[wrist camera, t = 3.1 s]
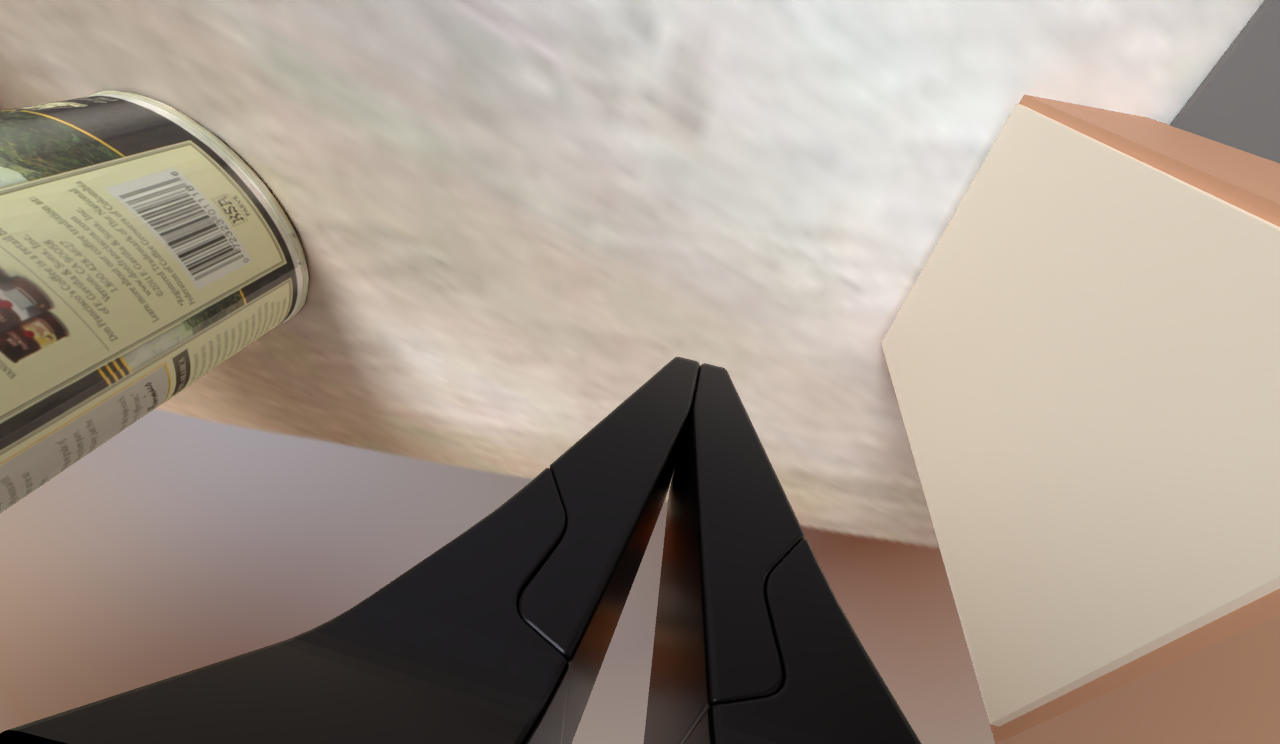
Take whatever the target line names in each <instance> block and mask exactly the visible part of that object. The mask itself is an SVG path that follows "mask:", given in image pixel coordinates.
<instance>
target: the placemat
mask: <svg viewBox="0 0 1280 744" xmlns="http://www.w3.org/2000/svg"><path fill="white" fill-rule="evenodd" d="M1170 126H1173V127H1176V128H1179V129H1182V130H1185V131H1187V132H1190V133H1193V134H1196V135H1199V136H1202V137H1205V138H1208V139H1211V140H1213V141H1216V142H1219V143H1222V144H1225V145H1228V146H1231V147H1234V148H1236V149H1239V150H1242V151H1245V152H1248V153H1251V154H1254V155H1257V156H1260V157H1262V158H1265V159H1268V160H1271V161H1274V162H1277V163H1280V0H1265V1H1264V2H1263V4H1262V5H1261V6H1260V8H1259V9H1258V10H1257V12H1256V13H1255V14H1254V16H1253V17H1252V18H1251V20H1250V21H1249V22H1248V23H1247V25H1246V26H1245V27H1244V29H1243V30H1242V31H1241V33H1240V34H1239V35H1238V37H1237V38H1236V39H1235V40H1234V42H1233V43H1232V44H1231V46H1230V47H1229V48H1228V50H1227V51H1226V52H1225V54H1224V55H1223V56H1222V58H1221V59H1220V60H1219V61H1218V63H1217V64H1216V65H1215V67H1214V68H1213V69H1212V71H1211V72H1210V73H1209V75H1208V76H1207V77H1206V78H1205V80H1204V81H1203V82H1202V84H1201V85H1200V86H1199V88H1198V89H1197V90H1196V92H1195V93H1194V94H1193V95H1192V97H1191V98H1190V99H1189V101H1188V102H1187V103H1186V105H1185V106H1184V107H1183V109H1182V110H1181V111H1180V113H1179V114H1178V115H1177V116H1176V118H1175V119H1174V120H1173V122H1172V123H1171V124H1170Z"/></svg>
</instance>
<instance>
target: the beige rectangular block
mask: <svg viewBox="0 0 1280 744" xmlns="http://www.w3.org/2000/svg"><path fill="white" fill-rule="evenodd" d="M881 345H882V348H883V352H884V355H885V359H886V362H887V366H888V369H889V373H890V376H891V380H892V383H893V387H894V390H895V394H896V397H897V401H898V404H899V408H900V411H901V415H902V418H903V422H904V425H905V429H906V432H907V436H908V439H909V443H910V446H911V450H912V453H913V457H914V460H915V464H916V467H917V471H918V474H919V478H920V481H921V485H922V488H923V492H924V496H925V499H926V503H927V506H928V510H929V513H930V517H931V520H932V524H933V527H934V531H935V534H936V538H937V541H938V545H939V548H940V551H941V555H942V559H943V562H944V566H945V569H946V573H947V576H948V580H949V583H950V587H951V590H952V594H953V597H954V601H955V604H956V607H957V611H958V615H959V618H960V622H961V625H962V629H963V632H964V636H965V639H966V643H967V646H968V650H969V653H970V657H971V660H972V664H973V668H974V671H975V675H976V678H977V681H978V685H979V689H980V692H981V695H982V699H983V703H984V706H985V710H986V713H987V717H988V720H989V724H990V726H991V730H992V733H993V737H994V740H995V744H1280V163H1277V162H1274V161H1271V160H1268V159H1265V158H1262V157H1260V156H1257V155H1254V154H1251V153H1248V152H1245V151H1242V150H1239V149H1236V148H1234V147H1231V146H1228V145H1225V144H1222V143H1219V142H1216V141H1213V140H1211V139H1208V138H1205V137H1202V136H1199V135H1196V134H1193V133H1190V132H1187V131H1185V130H1182V129H1179V128H1176V127H1173V126H1170V125H1167V124H1164V123H1162V122H1159V121H1156V120H1153V119H1150V118H1145V117H1140V116H1135V115H1129V114H1124V113H1119V112H1113V111H1108V110H1103V109H1097V108H1092V107H1087V106H1081V105H1076V104H1071V103H1065V102H1060V101H1055V100H1049V99H1044V98H1039V97H1033V96H1028V95H1024V96H1023V98H1022V99H1021V101H1020V103H1019V104H1016V105H1015V107H1014V108H1013V110H1012V112H1011V114H1010V115H1009V117H1008V119H1007V121H1006V123H1005V124H1004V126H1003V128H1002V130H1001V131H1000V133H999V135H998V137H997V138H996V140H995V142H994V144H993V146H992V147H991V149H990V151H989V153H988V154H987V156H986V158H985V160H984V162H983V163H982V165H981V167H980V169H979V170H978V172H977V174H976V176H975V178H974V179H973V181H972V183H971V185H970V186H969V188H968V190H967V192H966V194H965V195H964V197H963V199H962V201H961V202H960V204H959V206H958V208H957V209H956V211H955V213H954V215H953V217H952V218H951V220H950V222H949V224H948V225H947V227H946V229H945V231H944V233H943V234H942V236H941V238H940V240H939V241H938V243H937V245H936V247H935V249H934V250H933V252H932V254H931V256H930V257H929V259H928V261H927V263H926V265H925V266H924V268H923V270H922V272H921V273H920V275H919V277H918V279H917V280H916V282H915V284H914V286H913V288H912V289H911V291H910V293H909V295H908V296H907V298H906V300H905V302H904V304H903V305H902V307H901V309H900V311H899V312H898V314H897V316H896V318H895V320H894V321H893V323H892V325H891V327H890V328H889V330H888V332H887V334H886V336H885V337H884V339H883V341H882V343H881Z"/></svg>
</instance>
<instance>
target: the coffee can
mask: <svg viewBox="0 0 1280 744" xmlns="http://www.w3.org/2000/svg"><path fill="white" fill-rule="evenodd" d="M308 281H309V275H308V269H307V264H306V259H305V256H304V252H303V249H302V246H301V244H300V241H299V239H298V236H297V234H296V231H295V229H294V228H293V226H292V225H291V223H290V221H289V220H288V218H287V216H286V215H285V213H284V211H283V210H282V208H281V206H280V205H279V203H278V202H277V200H276V199H275V198H274V196H273V195H272V194H271V192H270V191H269V189H268V188H267V186H266V185H265V184H264V183H263V182H262V180H261V179H260V178H259V177H258V176H257V175H256V173H255V172H254V171H253V170H252V169H251V168H250V167H249V166H248V165H247V164H246V163H245V162H244V161H243V160H242V159H241V158H240V157H239V156H238V155H237V154H236V153H235V152H234V151H233V150H231V149H230V148H229V147H228V146H227V145H226V144H225V143H224V142H223V141H222V140H221V139H219V138H218V137H217V136H216V135H215V134H213V133H212V132H210V131H209V130H207V129H206V128H204V127H202V126H201V125H200V124H198V123H197V122H196V121H194V120H193V119H191V118H190V117H188V116H187V115H185V114H183V113H181V112H179V111H178V110H176V109H174V108H173V107H171V106H169V105H166V104H164V103H162V102H160V101H157V100H154V99H152V98H149V97H146V96H143V95H140V94H136V93H131V92H123V91H116V90H112V91H101V92H98V93H95V94H91V95H89V96H87V97H84V98H78V99H72V100H67V101H58V102H51V103H47V104H42V105H37V106H29V107H22V108H15V109H9V110H3V111H0V513H2V512H3V511H4V510H6V509H7V508H9V507H10V506H12V505H13V504H15V503H16V502H18V501H19V500H21V499H22V498H24V497H25V496H27V495H28V494H29V493H31V492H33V491H34V490H36V489H37V488H39V487H40V486H41V485H43V484H44V483H46V482H47V481H49V480H50V479H52V478H53V477H55V476H56V475H58V474H59V473H60V472H62V471H63V470H65V469H66V468H68V467H69V466H71V465H72V464H74V463H75V462H77V461H78V460H80V459H81V458H83V457H84V456H86V455H87V454H88V453H90V452H91V451H93V450H94V449H96V448H97V447H99V446H100V445H102V444H103V443H105V442H106V441H108V440H109V439H111V438H112V437H114V436H115V435H117V434H118V433H119V432H121V431H122V430H124V429H125V428H127V427H128V426H129V425H131V424H133V423H134V422H136V421H137V420H139V419H140V418H142V417H143V416H144V415H146V414H148V413H149V412H150V411H152V410H153V409H155V408H156V407H158V406H159V405H161V404H163V403H164V402H166V401H167V400H169V399H170V398H171V397H173V396H174V395H176V394H177V393H178V392H180V391H182V390H183V389H185V388H186V387H187V386H189V385H190V384H192V383H193V382H195V381H196V380H198V379H199V378H201V377H202V376H204V375H205V374H207V373H208V372H210V371H211V370H213V369H214V368H216V367H217V366H219V365H220V364H222V363H223V362H224V361H226V360H227V359H229V358H230V357H232V356H233V355H235V354H236V353H238V352H239V351H241V350H242V349H244V348H245V347H247V346H248V345H250V344H251V343H253V342H254V341H255V340H257V339H258V338H260V337H261V336H263V335H264V334H266V333H267V332H269V331H270V330H272V329H273V328H275V327H277V326H278V325H280V324H283V323H285V322H287V321H289V320H290V319H292V318H293V317H294V316H295V315H296V314H297V313H298V312H299V311H300V310H301V308H302V307H303V306H304V304H305V302H306V296H307V292H308Z"/></svg>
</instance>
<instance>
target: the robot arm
mask: <svg viewBox="0 0 1280 744" xmlns="http://www.w3.org/2000/svg"><path fill="white" fill-rule="evenodd" d="M672 475H673V476H672ZM671 479H672V481H671ZM670 482H671V486H670ZM669 486H670V491H669V499H668V509H667V518H666V528H665V537H664V548H663V557H662V567H661V578H660V588H659V597H658V607H657V617H656V627H655V637H654V647H653V657H652V666H651V667H652V668H651V676H650V686H649V696H648V707H647V716H646V726H645V736H644V744H921V742H920V741H919V739H918V737H917V735H916V734H915V732H914V730H913V729H912V727H911V725H910V724H909V722H908V721H907V719H906V717H905V716H904V714H903V712H902V710H901V709H900V707H899V705H898V704H897V702H896V700H895V699H894V697H893V695H892V694H891V692H890V690H889V689H888V687H887V686H886V684H885V682H884V680H883V679H882V677H881V676H880V674H879V672H878V670H877V669H876V667H875V666H874V664H873V662H872V661H871V659H870V657H869V656H868V654H867V652H866V651H865V649H864V647H863V646H862V644H861V642H860V640H859V638H858V637H857V635H856V633H855V631H854V630H853V628H852V626H851V624H850V623H849V621H848V619H847V617H846V616H845V614H844V612H843V610H842V609H841V607H840V605H839V603H838V601H837V599H836V598H835V595H834V593H833V592H832V590H831V588H830V586H829V584H828V582H827V580H826V578H825V576H824V574H823V572H822V570H821V568H820V566H819V564H818V562H817V560H816V558H815V556H814V554H813V551H812V549H811V547H810V545H809V543H808V541H807V540H806V539H803V538H804V533H803V530H802V528H801V526H800V524H799V522H798V520H797V518H796V516H795V513H794V511H793V509H792V507H791V505H790V503H789V501H788V499H787V497H786V494H785V492H784V490H783V488H782V486H781V484H780V482H779V480H778V478H777V475H776V473H775V471H774V469H773V467H772V465H771V463H770V461H769V459H768V456H767V454H766V452H765V450H764V448H763V446H762V444H761V442H760V440H759V437H758V435H757V433H756V431H755V429H754V427H753V425H752V423H751V421H750V418H749V416H748V414H747V412H746V410H745V408H744V406H743V404H742V402H741V399H740V397H739V395H738V393H737V391H736V389H735V387H734V385H733V383H732V380H731V378H730V376H729V374H728V372H727V370H726V369H725V368H722V367H718V366H714V365H710V364H705V363H704V364H702V365H701V366H700V364H699V363H698V362H697V361H693V360H689V359H685V358H681V357H675V358H674V359H673V360H671V361H670V362H669V363H668V364H667V365H666V366H664V367H663V368H662V369H661V370H660V371H659V372H658V373H656V374H655V375H654V376H653V377H652V378H651V379H649V380H648V381H647V382H646V383H645V384H644V385H642V386H641V387H640V388H639V389H638V390H637V391H636V392H634V393H633V394H632V395H631V396H630V397H629V398H627V399H626V400H625V401H624V402H623V403H622V404H620V405H619V406H618V407H617V408H616V409H615V410H614V411H612V412H611V413H610V414H609V415H608V416H607V417H605V418H604V419H603V420H602V421H601V422H600V423H598V424H597V425H596V426H595V427H594V428H593V429H592V430H590V431H589V432H588V433H587V434H586V435H585V436H583V437H582V438H581V439H580V440H579V441H578V442H576V443H575V444H574V445H573V446H572V447H571V448H570V449H568V450H567V451H566V452H565V453H564V454H563V455H561V456H560V457H559V458H558V459H557V460H556V461H554V462H553V463H552V464H551V465H550V469H549V468H546V469H545V470H544V471H543V472H541V473H540V474H539V475H538V476H537V477H536V478H534V479H533V480H532V481H531V482H530V483H529V484H528V485H526V486H525V487H524V488H523V489H521V490H520V491H519V492H518V493H516V494H515V495H514V496H513V497H511V498H510V499H509V500H508V501H507V502H505V503H504V504H503V505H502V506H500V507H499V508H498V509H496V510H495V511H494V512H492V513H491V514H489V515H488V516H487V517H485V518H484V519H482V520H481V521H480V522H478V523H477V524H475V525H474V526H473V527H471V528H470V529H468V530H467V531H466V532H464V533H463V534H461V535H460V536H458V537H457V538H455V539H454V540H452V541H451V542H450V543H448V544H446V545H445V546H444V547H442V548H441V549H439V550H438V551H436V552H435V553H433V554H432V555H430V556H429V557H427V558H426V559H424V560H423V561H422V562H420V563H418V564H417V565H416V566H414V567H413V568H411V569H410V570H408V571H407V572H405V573H404V574H402V575H401V576H400V577H398V578H396V579H395V580H394V581H392V582H390V583H389V584H388V585H386V586H385V587H383V588H382V589H380V590H379V591H377V592H376V593H374V594H373V595H372V596H370V597H369V598H367V599H365V600H364V601H362V602H361V603H359V604H358V605H356V606H355V607H353V608H351V609H350V610H348V611H346V612H344V613H343V614H341V615H339V616H337V617H336V618H334V619H332V620H330V621H328V622H326V623H324V624H322V625H320V626H318V627H316V628H314V629H312V630H310V631H307V632H305V633H302V634H300V635H298V636H295V637H293V638H290V639H288V640H285V641H282V642H279V643H276V644H273V645H270V646H267V647H264V648H261V649H258V650H254V651H252V652H248V653H245V654H242V655H239V656H236V657H233V658H230V659H227V660H224V661H220V662H218V663H214V664H211V665H208V666H205V667H202V668H199V669H196V670H192V671H189V672H186V673H183V674H180V675H177V676H174V677H171V678H168V679H165V680H162V681H158V682H155V683H152V684H149V685H146V686H143V687H140V688H137V689H134V690H130V691H127V692H124V693H121V694H118V695H115V696H112V697H109V698H106V699H103V700H99V701H96V702H93V703H90V704H87V705H84V706H81V707H78V708H75V709H72V710H69V711H66V712H62V713H59V714H56V715H53V716H50V717H47V718H44V719H41V720H38V721H34V722H31V723H28V724H25V725H22V726H19V727H16V728H13V729H10V730H6V731H4V732H2V733H1V734H0V744H572V741H573V738H574V736H575V733H576V731H577V728H578V725H579V723H580V720H581V718H582V715H583V712H584V710H585V707H586V705H587V702H588V699H589V697H590V694H591V691H592V689H593V686H594V684H595V681H596V678H597V676H598V673H599V671H600V668H601V665H602V663H603V660H604V657H605V655H606V652H607V650H608V647H609V644H610V642H611V639H612V637H613V634H614V631H615V629H616V626H617V623H618V621H619V618H620V615H621V613H622V610H623V608H624V605H625V603H626V600H627V597H628V595H629V592H630V590H631V587H632V584H633V582H634V579H635V576H636V574H637V571H638V569H639V566H640V563H641V561H642V558H643V556H644V553H645V550H646V548H647V545H648V543H649V540H650V537H651V535H652V532H653V529H654V527H655V524H656V522H657V519H658V516H659V514H660V511H661V509H662V506H663V503H664V501H665V498H666V495H667V492H668V489H669Z"/></svg>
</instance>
